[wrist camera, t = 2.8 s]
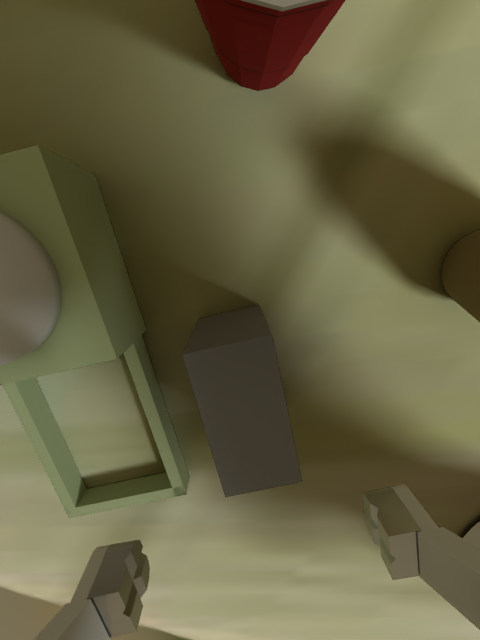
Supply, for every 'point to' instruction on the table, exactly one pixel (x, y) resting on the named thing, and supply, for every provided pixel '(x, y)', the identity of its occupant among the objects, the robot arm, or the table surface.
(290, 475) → the tall grey box
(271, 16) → the plastic cup
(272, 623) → the table surface
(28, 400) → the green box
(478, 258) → the squeeze bottle
